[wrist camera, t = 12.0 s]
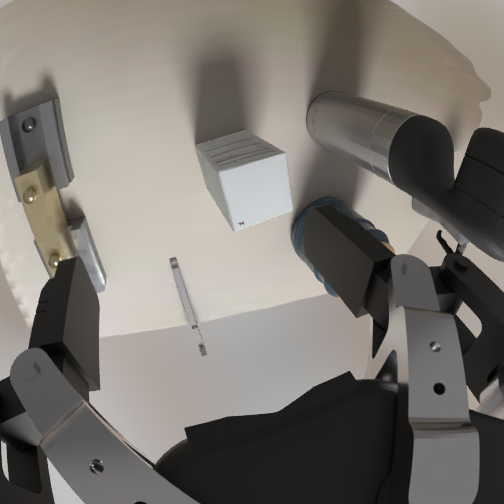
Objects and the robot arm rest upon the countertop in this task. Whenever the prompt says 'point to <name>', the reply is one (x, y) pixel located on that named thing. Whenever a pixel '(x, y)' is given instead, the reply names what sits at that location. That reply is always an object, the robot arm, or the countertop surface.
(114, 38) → the countertop surface
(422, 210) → the coffeepot
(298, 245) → the canister
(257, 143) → the supplement box
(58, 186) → the metal brackets
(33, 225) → the chain link plate
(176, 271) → the caliper
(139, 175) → the countertop surface
